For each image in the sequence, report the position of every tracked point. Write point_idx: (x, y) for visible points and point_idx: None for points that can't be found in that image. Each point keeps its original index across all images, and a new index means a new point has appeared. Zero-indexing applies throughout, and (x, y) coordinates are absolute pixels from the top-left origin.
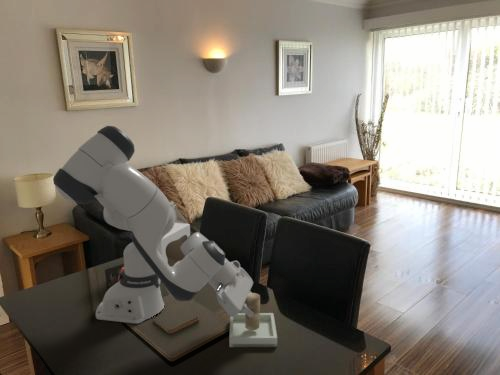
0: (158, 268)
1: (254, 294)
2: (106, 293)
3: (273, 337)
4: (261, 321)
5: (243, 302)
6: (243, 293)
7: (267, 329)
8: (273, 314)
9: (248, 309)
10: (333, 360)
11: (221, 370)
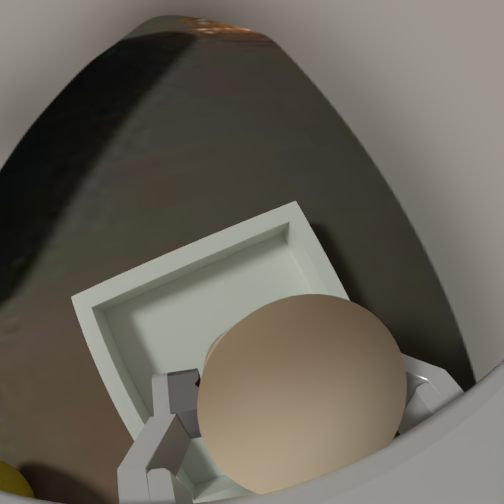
0: None
1: (247, 412)
2: None
3: (300, 218)
4: (132, 353)
5: (493, 385)
6: (415, 499)
7: (192, 296)
8: (83, 292)
9: (410, 357)
10: (261, 68)
11: (463, 341)
